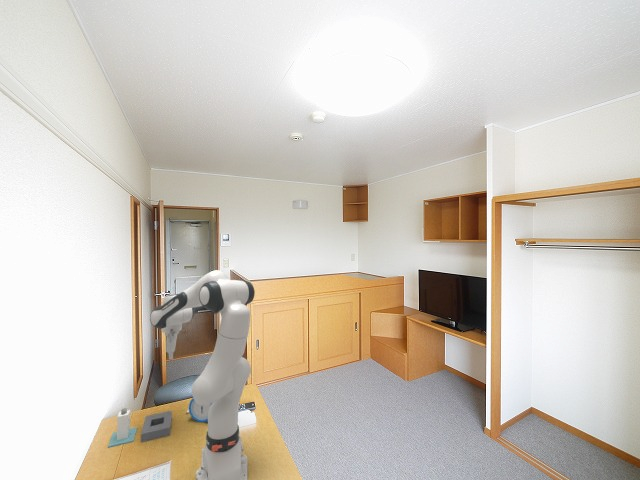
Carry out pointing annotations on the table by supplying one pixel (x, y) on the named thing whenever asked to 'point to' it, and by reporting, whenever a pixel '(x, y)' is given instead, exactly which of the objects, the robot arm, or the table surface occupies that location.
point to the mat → (116, 442)
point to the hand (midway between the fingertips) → (171, 355)
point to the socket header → (156, 426)
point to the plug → (123, 424)
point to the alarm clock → (199, 411)
